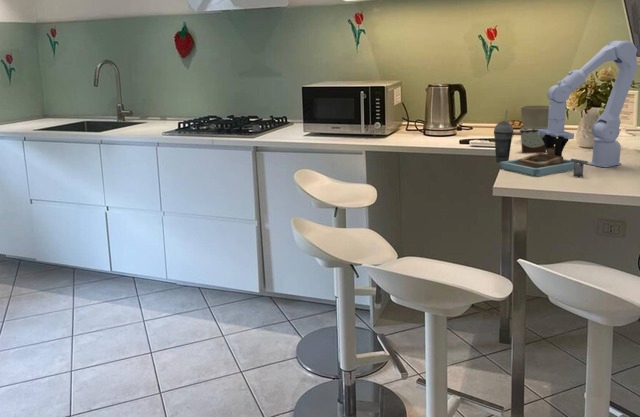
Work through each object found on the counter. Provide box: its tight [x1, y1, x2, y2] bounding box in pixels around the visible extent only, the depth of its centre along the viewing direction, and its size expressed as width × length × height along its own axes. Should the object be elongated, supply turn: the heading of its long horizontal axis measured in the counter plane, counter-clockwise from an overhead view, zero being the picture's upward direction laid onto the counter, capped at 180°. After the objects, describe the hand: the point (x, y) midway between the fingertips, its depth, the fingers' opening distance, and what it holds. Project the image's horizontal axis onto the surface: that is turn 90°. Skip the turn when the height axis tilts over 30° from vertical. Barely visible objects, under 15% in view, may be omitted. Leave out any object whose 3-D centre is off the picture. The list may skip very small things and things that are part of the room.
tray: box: [499, 158, 574, 178], centre depth 228 cm, size 22×17×2 cm
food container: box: [519, 127, 548, 154], centre depth 260 cm, size 12×6×10 cm, turn 85°
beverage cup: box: [493, 109, 514, 164], centre depth 240 cm, size 7×7×20 cm
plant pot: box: [520, 104, 549, 128], centre depth 279 cm, size 15×15×16 cm
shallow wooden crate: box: [518, 145, 564, 168], centre depth 229 cm, size 15×11×4 cm
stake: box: [570, 158, 589, 178], centre depth 215 cm, size 3×6×6 cm, turn 30°
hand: (553, 156), depth 231 cm, fingers closed on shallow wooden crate, 3 cm apart
